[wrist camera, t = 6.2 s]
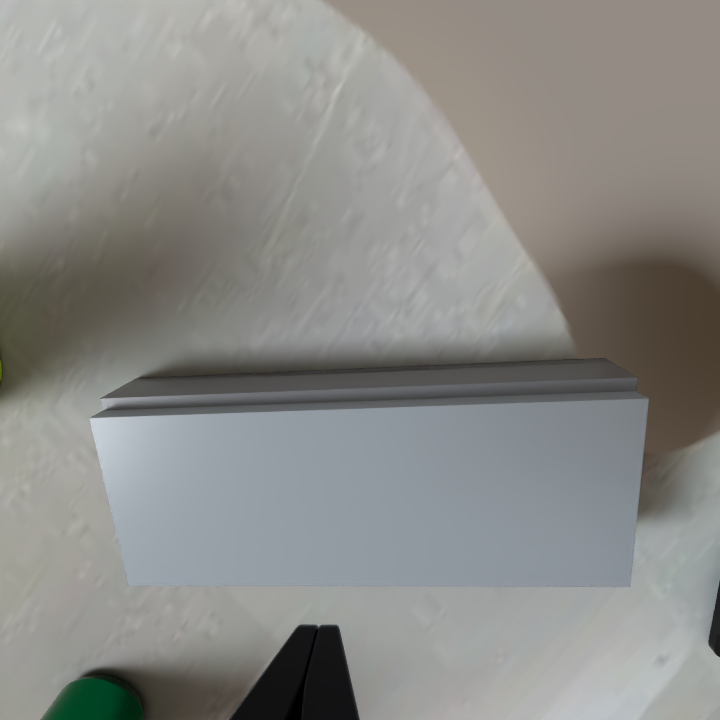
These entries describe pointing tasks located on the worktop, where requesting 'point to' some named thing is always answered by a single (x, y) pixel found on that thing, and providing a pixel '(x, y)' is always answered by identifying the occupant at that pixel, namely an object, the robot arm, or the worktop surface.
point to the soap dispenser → (0, 370)
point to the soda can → (96, 701)
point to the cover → (378, 491)
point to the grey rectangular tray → (374, 384)
